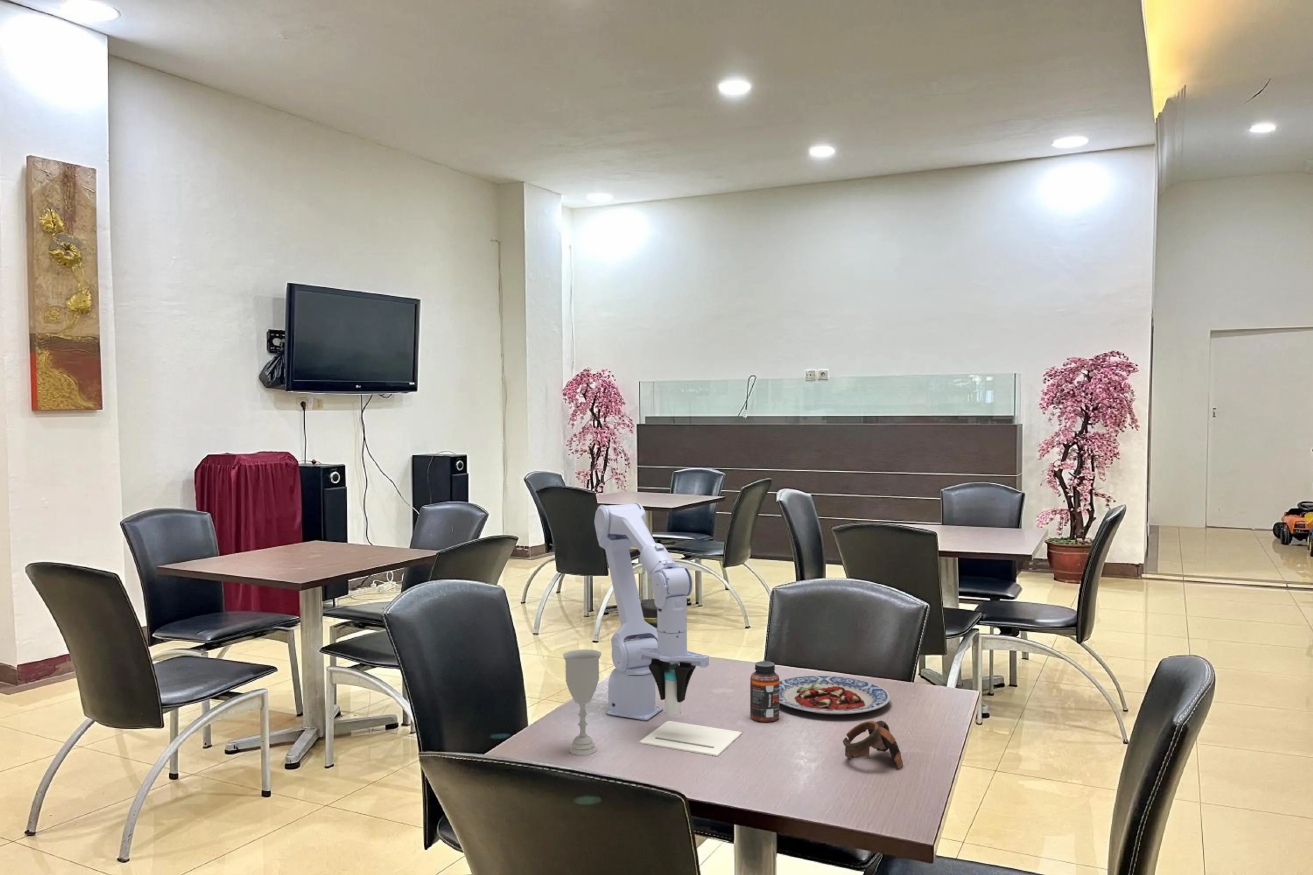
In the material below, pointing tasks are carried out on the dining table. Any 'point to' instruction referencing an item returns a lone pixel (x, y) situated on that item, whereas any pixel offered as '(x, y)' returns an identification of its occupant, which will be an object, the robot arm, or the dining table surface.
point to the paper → (691, 738)
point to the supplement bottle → (764, 692)
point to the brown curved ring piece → (872, 741)
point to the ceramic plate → (831, 694)
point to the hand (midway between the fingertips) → (672, 699)
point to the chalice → (582, 691)
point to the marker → (671, 693)
